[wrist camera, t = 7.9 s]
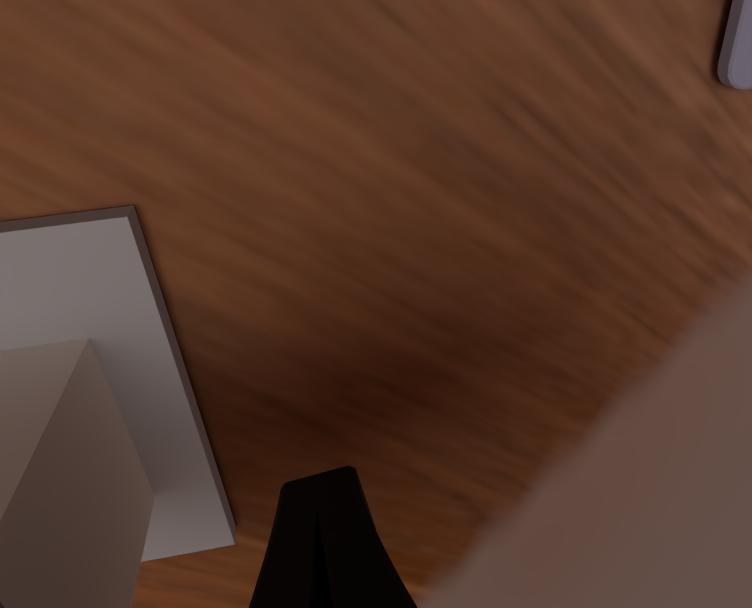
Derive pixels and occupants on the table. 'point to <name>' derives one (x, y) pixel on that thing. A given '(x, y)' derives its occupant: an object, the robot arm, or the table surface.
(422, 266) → the table surface
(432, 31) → the table surface
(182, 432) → the mat
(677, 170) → the table surface
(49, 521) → the beige rectangular block
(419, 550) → the table surface
